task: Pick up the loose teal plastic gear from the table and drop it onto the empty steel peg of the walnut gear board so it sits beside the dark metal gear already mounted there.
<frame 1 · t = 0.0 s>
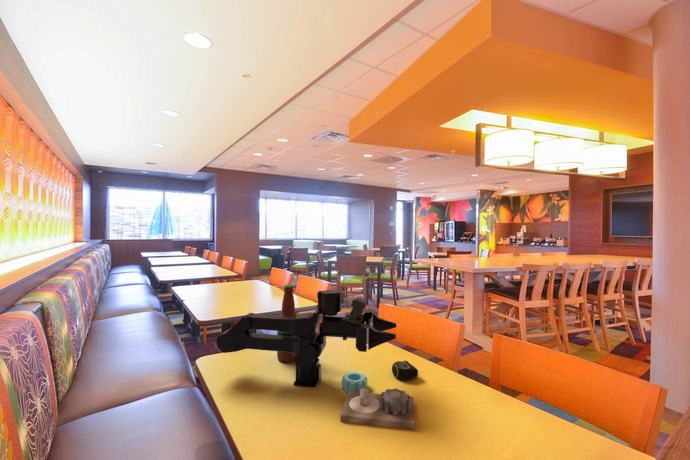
hand: (396, 330, 89), 17 cm above the table, fingers open, 9 cm apart
tape measure: (404, 376, 98), on the table
gear board: (378, 411, 79), on the table
teal gear: (354, 387, 90), on the table
bottle: (288, 359, 109), on the table
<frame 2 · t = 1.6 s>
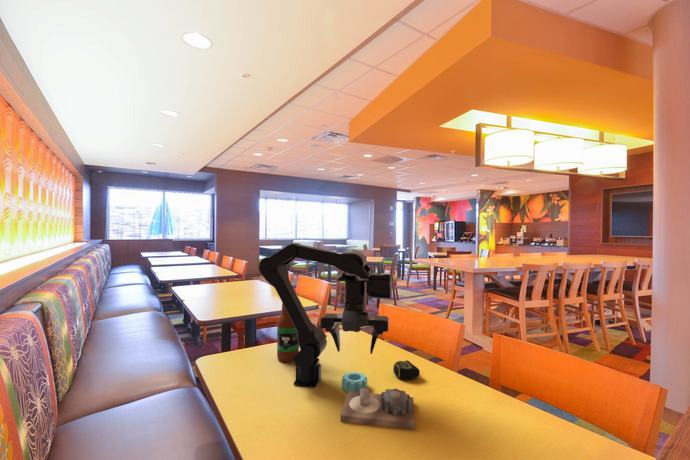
hand: (354, 352, 90), 10 cm above the table, fingers open, 9 cm apart
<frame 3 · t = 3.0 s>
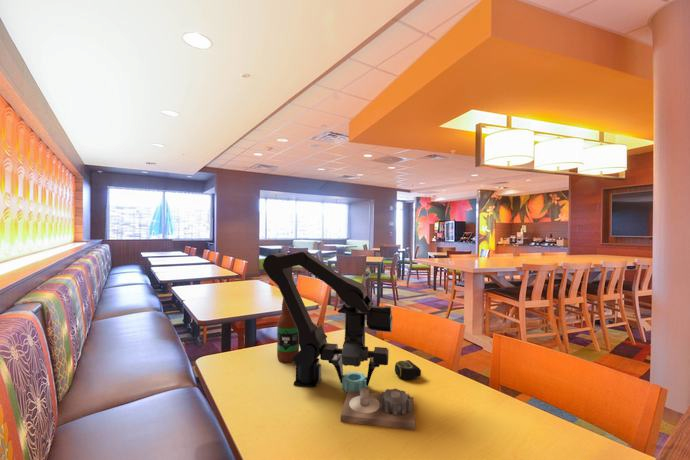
hand: (354, 383, 90), 1 cm above the table, fingers closed on teal gear, 7 cm apart
teal gear: (354, 387, 90), on the table, touching gripper
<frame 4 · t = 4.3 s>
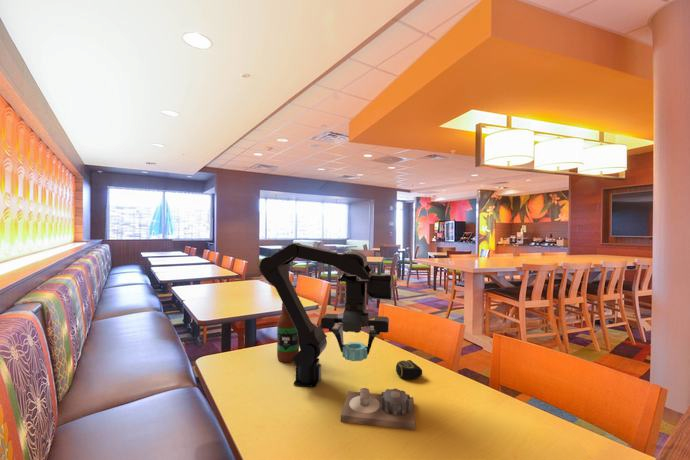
hand: (355, 352, 90), 10 cm above the table, fingers closed on teal gear, 7 cm apart
teal gear: (355, 356, 90), point 9 cm above the table, touching gripper
when the fingers open (7 cm above the table, at t = 6.1 s): teal gear drops 4 cm, resting on gear board.
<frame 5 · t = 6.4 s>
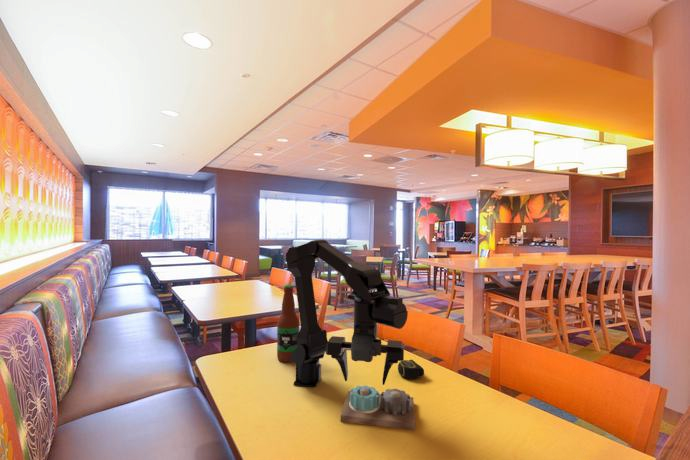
hand: (364, 382, 79), 7 cm above the table, fingers open, 9 cm apart
teal gear: (364, 403, 79), point 2 cm above the table, touching gear board
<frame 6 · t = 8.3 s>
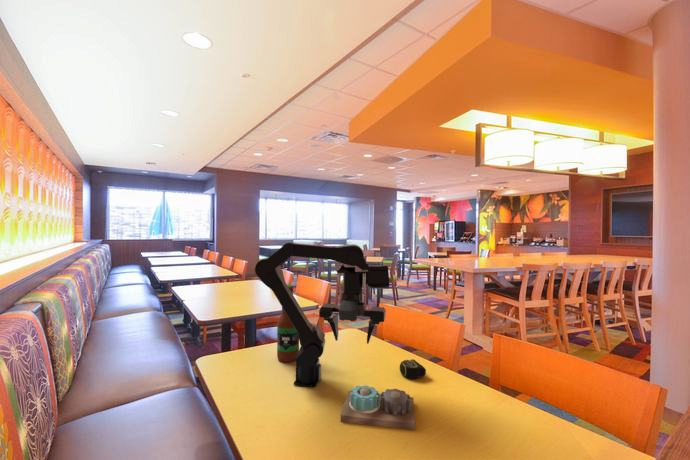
hand: (352, 341, 93), 12 cm above the table, fingers open, 9 cm apart
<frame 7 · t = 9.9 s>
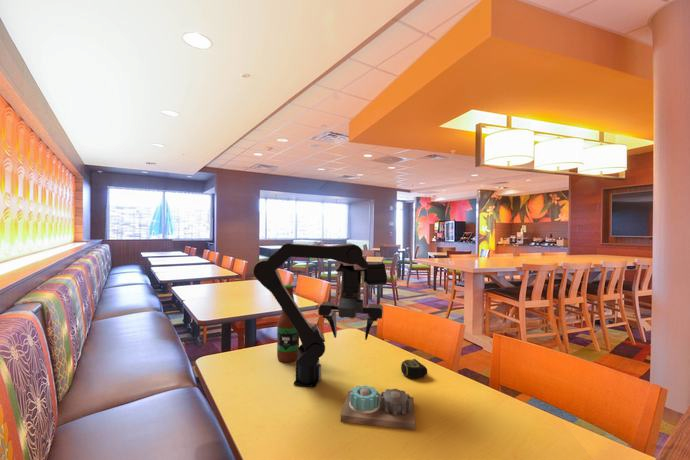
hand: (350, 338, 95), 12 cm above the table, fingers open, 9 cm apart
at the end: teal gear 0.1 cm from the target spot on the gear board, point 1.6 cm above the gear board's base; teal gear tilted 0°; the gripper is holding nothing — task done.
